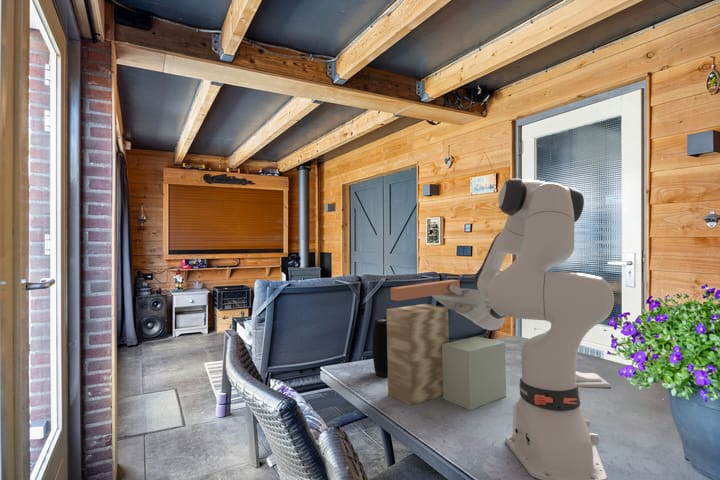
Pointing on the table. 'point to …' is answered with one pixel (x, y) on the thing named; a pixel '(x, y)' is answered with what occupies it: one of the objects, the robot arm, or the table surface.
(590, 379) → the light switch
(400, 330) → the tower
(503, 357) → the sage green block
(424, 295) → the salmon square-ended bar
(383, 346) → the portable speaker
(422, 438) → the table surface
